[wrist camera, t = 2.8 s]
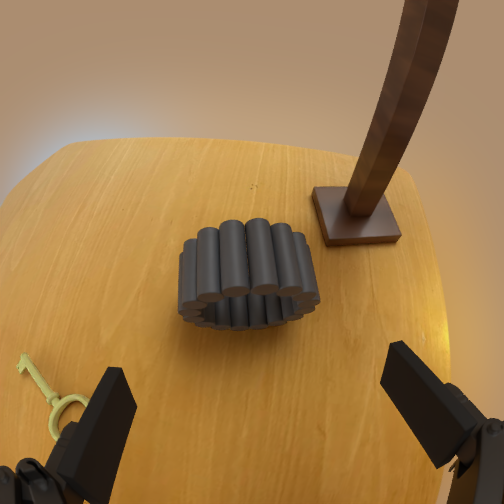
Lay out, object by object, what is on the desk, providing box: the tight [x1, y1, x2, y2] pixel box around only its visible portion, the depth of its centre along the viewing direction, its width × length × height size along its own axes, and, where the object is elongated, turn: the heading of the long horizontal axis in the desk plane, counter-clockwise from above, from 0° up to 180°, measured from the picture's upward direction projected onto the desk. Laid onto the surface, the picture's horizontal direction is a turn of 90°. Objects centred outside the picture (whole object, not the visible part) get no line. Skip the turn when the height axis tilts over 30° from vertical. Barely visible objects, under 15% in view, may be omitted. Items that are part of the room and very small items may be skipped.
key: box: [16, 352, 90, 442], centre depth 19 cm, size 7×12×2 cm, turn 72°
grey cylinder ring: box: [178, 218, 320, 331], centre depth 22 cm, size 5×11×11 cm, turn 95°
